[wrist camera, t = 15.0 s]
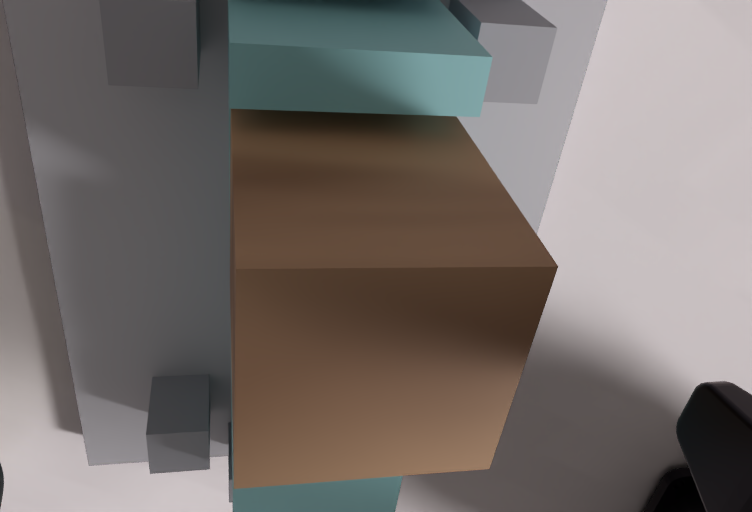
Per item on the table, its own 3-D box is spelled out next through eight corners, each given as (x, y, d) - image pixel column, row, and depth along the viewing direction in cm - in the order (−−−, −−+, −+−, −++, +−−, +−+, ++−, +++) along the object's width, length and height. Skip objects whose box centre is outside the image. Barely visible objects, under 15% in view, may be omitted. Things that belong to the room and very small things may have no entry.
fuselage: (366, 402, 20) (393, 519, 17) (230, 410, 20) (233, 535, 16) (429, -11, 14) (493, 56, 11) (227, -26, 13) (229, 42, 10)
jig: (466, 415, 23) (494, 489, 21) (94, 438, 21) (77, 526, 18) (614, -105, 14) (692, -80, 12) (-14, -181, 12) (-74, -168, 9)
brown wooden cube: (416, 280, 15) (489, 469, 11) (230, 282, 14) (233, 488, 10) (450, 107, 13) (558, 266, 9) (230, 97, 12) (236, 268, 8)
